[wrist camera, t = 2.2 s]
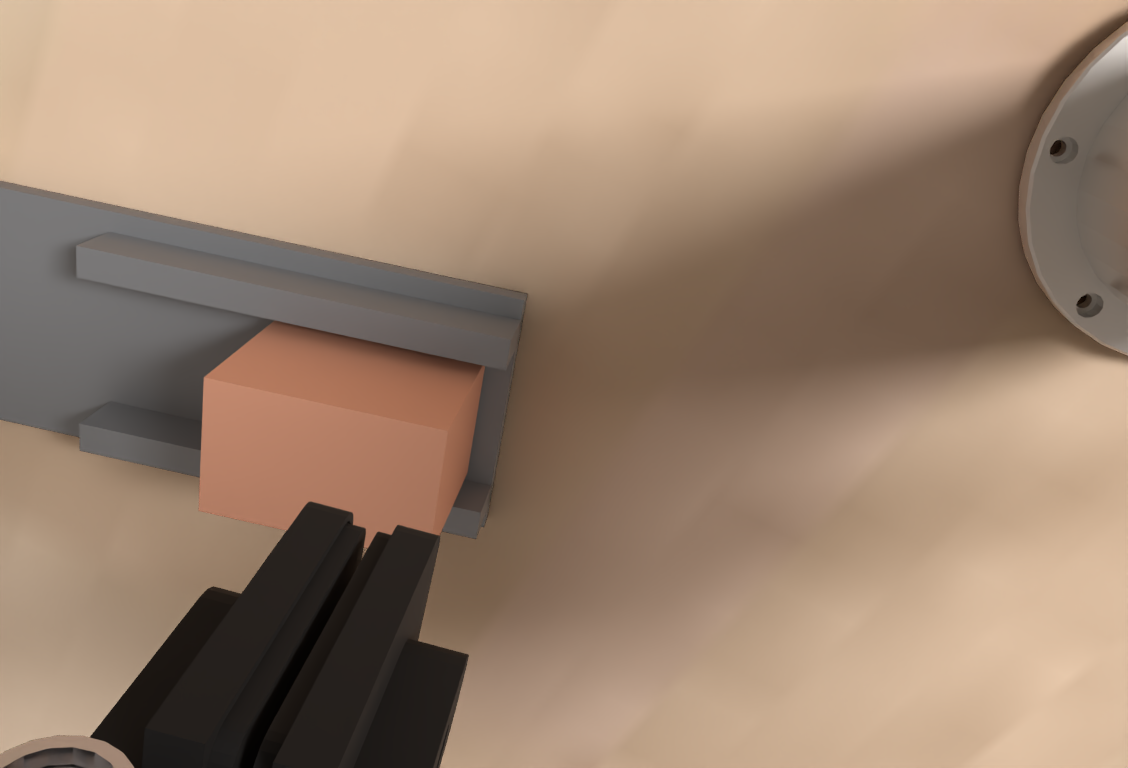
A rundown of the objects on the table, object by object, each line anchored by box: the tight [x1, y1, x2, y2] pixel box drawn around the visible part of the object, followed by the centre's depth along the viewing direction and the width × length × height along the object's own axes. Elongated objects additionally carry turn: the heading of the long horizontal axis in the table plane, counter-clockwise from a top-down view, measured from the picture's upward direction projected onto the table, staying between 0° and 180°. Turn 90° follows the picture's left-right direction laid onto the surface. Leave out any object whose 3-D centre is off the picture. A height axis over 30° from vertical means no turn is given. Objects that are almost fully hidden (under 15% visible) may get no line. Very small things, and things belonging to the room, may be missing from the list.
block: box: [199, 321, 485, 549], centre depth 34 cm, size 8×5×6 cm, turn 79°
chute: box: [0, 181, 527, 539], centre depth 37 cm, size 28×10×3 cm, turn 79°
